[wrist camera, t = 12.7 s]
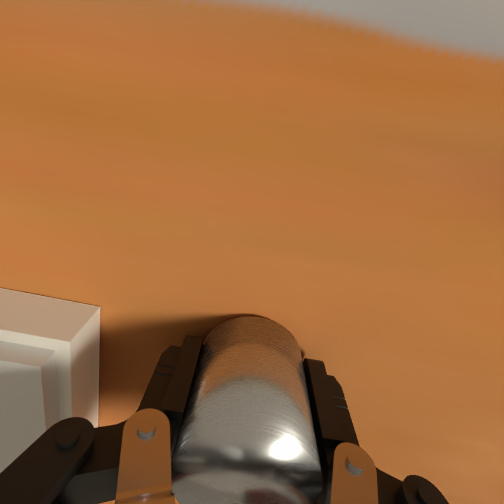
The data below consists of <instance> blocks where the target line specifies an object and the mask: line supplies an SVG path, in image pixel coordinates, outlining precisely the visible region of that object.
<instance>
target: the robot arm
mask: <svg viewBox="0 0 504 504" xmlns="http://www.w3.org/2000/svg"><path fill="white" fill-rule="evenodd" d="M202 344H203V338H198V337H193V336H186V338H185V340H184V343H183V346H182V348H181V347H176V346H170V347H169V348H168V349H166V350H165V351H164V352H163V353H162V355H161V357H160V359H159V362H158V364H157V366H156V369H155V371H154V374H153V376H152V378H151V380H150V383H149V385H148V387H147V389H146V392H145V394H144V396H143V399H142V401H141V403H140V406H139V408H138V410H137V411H136V412H135V413H134V414H133V415H132V416H130V418H129V419H127V420H126V421H124V422H121V423H119V424H116V425H111V426H104V427H96V428H94V426H93V425H92V423H91V422H90V421H89V420H87V419H85V418H81V417H71V418H66V419H63V420H61V421H59V422H57V423H55V424H54V425H52V426H51V427H50V428H49V429H48V430H47V431H45V432H44V433H43V434H42V435H41V436H40V437H39V438H38V439H37V440H36V441H35V442H34V443H32V444H31V445H30V446H29V447H28V448H27V449H26V450H25V451H24V452H23V453H22V454H21V455H19V456H18V457H17V458H16V459H15V460H14V461H13V462H12V463H11V464H10V465H9V466H8V467H6V468H5V469H4V470H3V471H2V472H1V473H0V504H98V503H103V502H107V501H112V500H115V504H175V497H174V493H173V492H172V483H171V459H172V455H173V451H174V447H175V444H176V440H177V436H178V432H179V430H180V428H181V424H182V420H183V417H184V413H185V409H186V405H187V401H188V398H189V394H190V390H191V386H192V382H193V379H194V375H195V371H196V367H197V363H198V360H199V356H200V352H201V348H202ZM303 368H304V374H305V379H306V385H307V391H308V397H309V402H310V408H311V414H312V420H313V425H314V431H315V437H316V442H317V448H318V454H319V460H320V465H321V471H322V477H323V486H322V491H321V494H320V496H319V498H318V500H317V501H316V503H315V504H449V503H448V502H447V500H446V499H445V497H444V496H443V495H442V493H441V492H440V491H439V490H438V489H437V488H436V487H435V486H434V485H433V484H432V483H431V482H429V481H428V480H426V479H425V478H423V477H420V476H417V475H409V476H407V477H406V478H405V479H404V481H403V482H402V481H400V480H398V479H396V478H394V477H392V476H390V475H388V474H386V473H384V472H383V471H381V470H379V469H378V468H376V467H375V465H374V462H373V460H372V459H371V457H370V456H369V455H368V454H367V453H366V452H365V451H364V450H363V449H362V448H360V446H359V443H358V440H357V436H356V433H355V430H354V426H353V423H352V420H351V417H350V413H349V410H348V409H347V408H348V407H347V404H346V400H345V397H344V394H343V390H342V387H341V386H340V384H339V383H338V381H337V380H336V379H335V377H334V376H330V375H327V373H326V369H325V366H324V363H323V361H319V360H313V359H308V358H305V359H304V361H303Z"/></svg>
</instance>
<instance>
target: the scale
mask: <svg viewBox="0 0 504 504" xmlns="http://www.w3.org/2000/svg"><path fill="white" fill-rule="evenodd" d="M99 353H100V307H99V306H94V305H88V304H83V303H78V302H73V301H67V300H62V299H57V298H51V297H46V296H41V295H36V294H30V293H25V292H20V291H15V290H9V289H4V288H0V473H1V472H2V471H3V470H4V469H5V468H6V467H8V466H9V465H10V464H11V463H12V462H13V461H14V460H15V459H16V458H17V457H18V456H19V455H21V454H22V453H23V452H24V451H25V450H26V449H27V448H28V447H29V446H30V445H31V444H32V443H34V442H35V441H36V440H37V439H38V438H39V437H40V436H41V435H42V434H43V433H44V432H45V431H47V430H48V429H49V428H50V427H51V426H52V425H54V424H55V423H57V422H59V421H61V420H63V419H66V418H71V417H81V418H85V419H87V420H89V421H90V422H91V423H92V425H93V426H94V428H96V427H98V406H99Z"/></svg>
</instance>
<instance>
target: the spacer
mask: <svg viewBox="0 0 504 504" xmlns="http://www.w3.org/2000/svg"><path fill="white" fill-rule="evenodd" d="M171 483H172V492H173V493H174V497H175V498H176V499H177V501H178V502H179V503H180V504H315V503H316V501H317V500H318V498H319V496H320V494H321V491H322V486H323V477H322V471H321V465H320V460H319V454H318V448H317V442H316V437H315V431H314V425H313V420H312V414H311V408H310V402H309V397H308V391H307V385H306V379H305V374H304V368H303V362H302V357H301V351H300V347H299V345H298V342H297V341H296V339H295V337H294V336H293V335H292V334H291V333H290V332H289V331H288V330H287V329H286V328H285V327H283V326H282V325H280V324H278V323H276V322H274V321H271V320H269V319H265V318H261V317H249V316H247V317H238V318H233V319H230V320H227V321H225V322H223V323H221V324H219V325H218V326H216V327H215V328H214V329H212V330H211V331H210V332H209V333H208V335H207V336H206V337H205V339H204V341H203V344H202V348H201V352H200V356H199V360H198V363H197V367H196V371H195V375H194V379H193V382H192V386H191V390H190V394H189V398H188V401H187V405H186V409H185V413H184V417H183V420H182V424H181V428H180V430H179V432H178V436H177V440H176V444H175V447H174V451H173V455H172V459H171Z"/></svg>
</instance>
